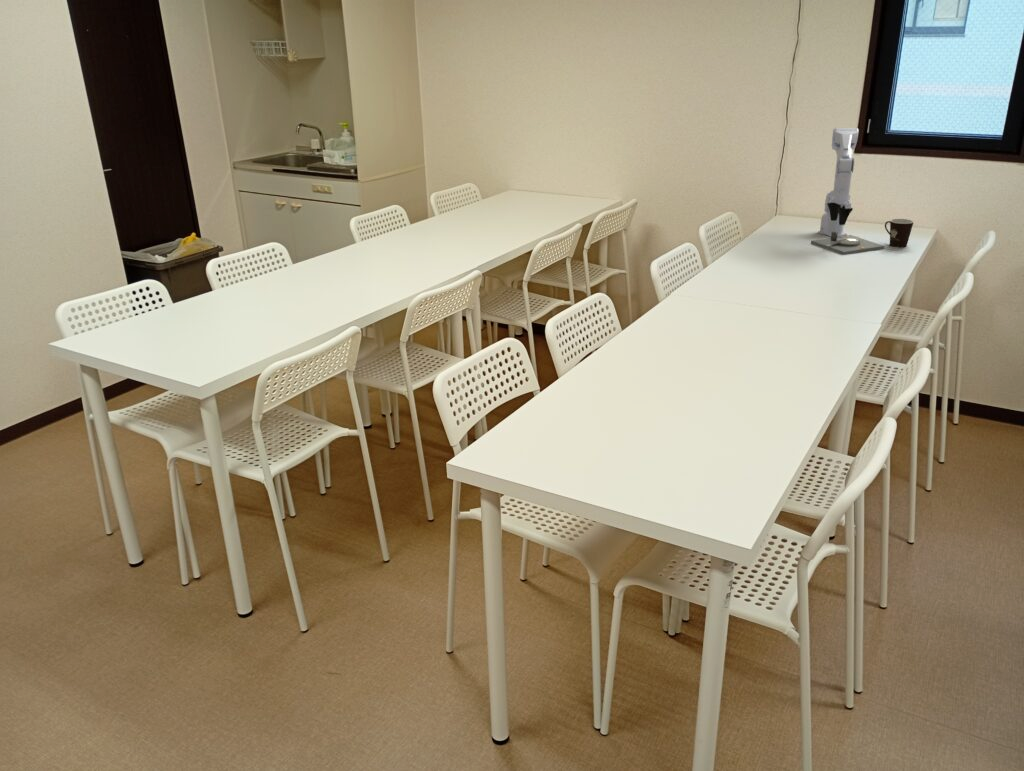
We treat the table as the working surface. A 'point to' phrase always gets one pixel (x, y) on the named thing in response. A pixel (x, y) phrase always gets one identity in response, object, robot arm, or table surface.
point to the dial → (844, 240)
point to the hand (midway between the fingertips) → (837, 222)
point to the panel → (844, 250)
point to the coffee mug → (899, 232)
